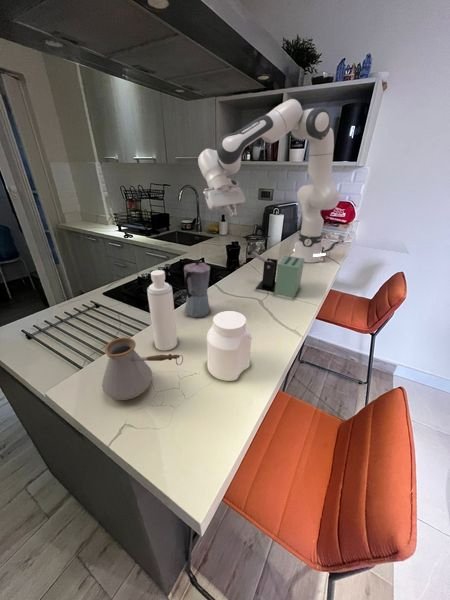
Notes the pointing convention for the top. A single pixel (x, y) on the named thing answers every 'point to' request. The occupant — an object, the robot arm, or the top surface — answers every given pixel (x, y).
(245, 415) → the top surface
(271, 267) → the lever bracket
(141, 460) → the top surface
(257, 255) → the lever
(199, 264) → the moka pot
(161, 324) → the white bottle
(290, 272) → the toaster body
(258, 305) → the top surface
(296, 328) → the top surface
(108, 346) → the coffee pot
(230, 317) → the jar
